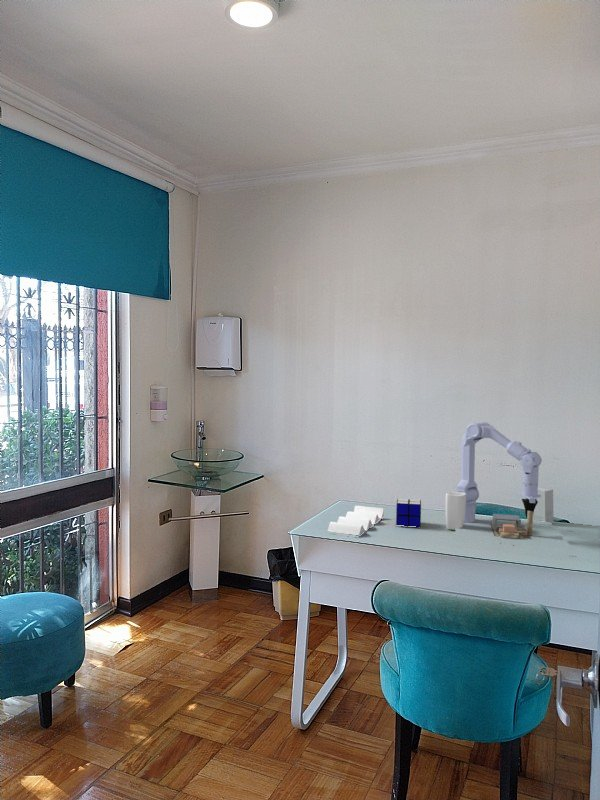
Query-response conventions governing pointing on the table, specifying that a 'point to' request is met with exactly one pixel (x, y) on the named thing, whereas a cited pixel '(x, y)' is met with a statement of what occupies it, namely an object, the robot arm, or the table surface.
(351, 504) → the table surface
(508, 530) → the block
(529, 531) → the slider
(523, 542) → the table surface
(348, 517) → the white ridged rack
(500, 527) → the deck
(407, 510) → the puzzle cube
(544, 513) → the skincare box
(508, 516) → the tunnel
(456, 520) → the cup
